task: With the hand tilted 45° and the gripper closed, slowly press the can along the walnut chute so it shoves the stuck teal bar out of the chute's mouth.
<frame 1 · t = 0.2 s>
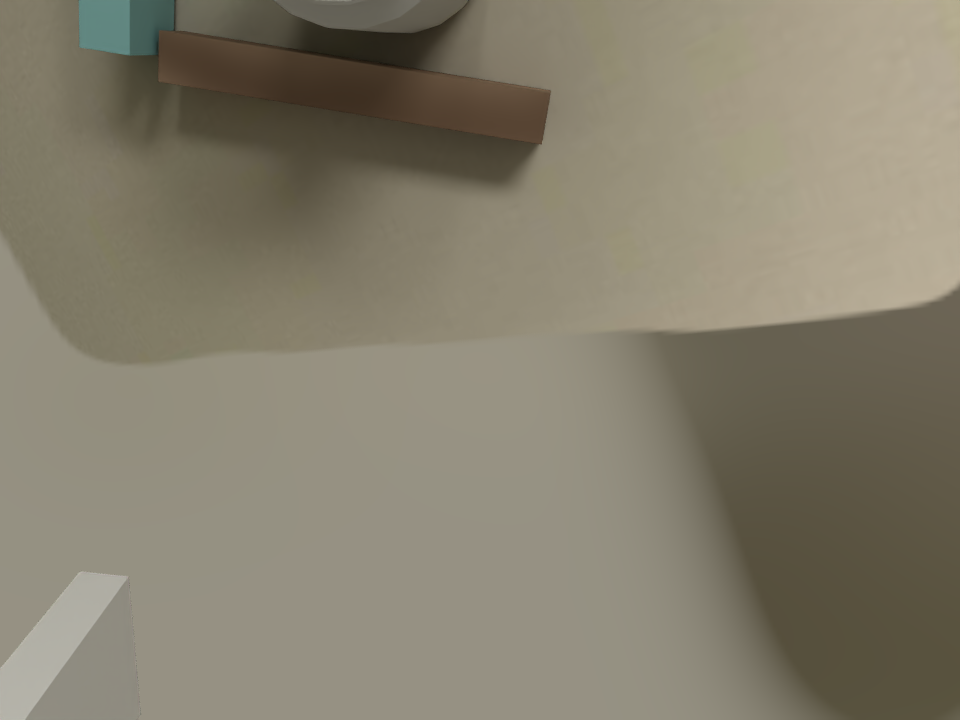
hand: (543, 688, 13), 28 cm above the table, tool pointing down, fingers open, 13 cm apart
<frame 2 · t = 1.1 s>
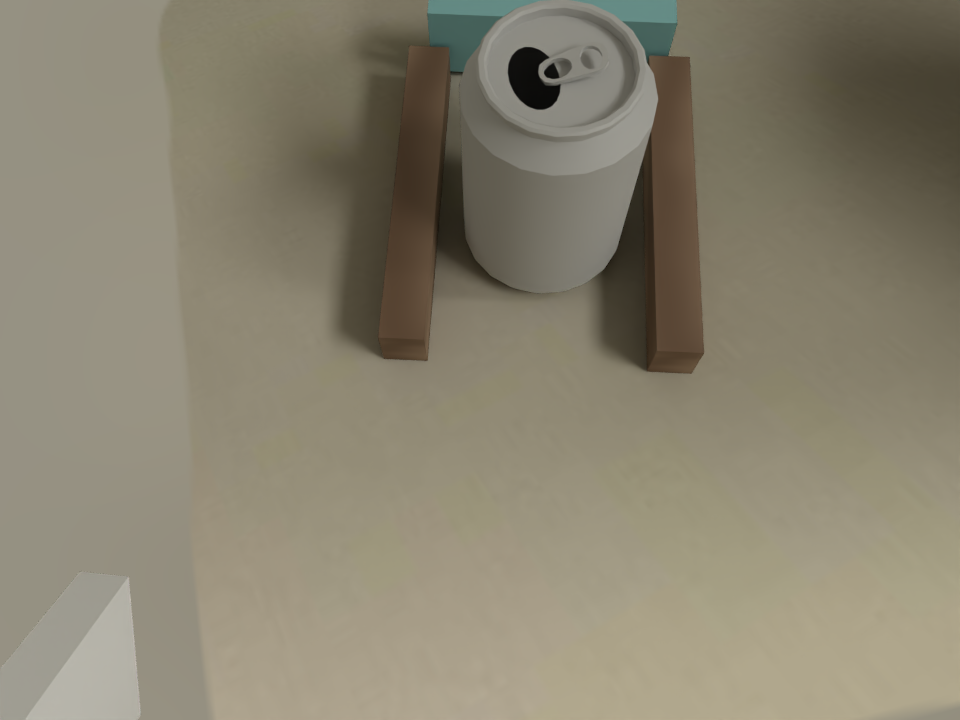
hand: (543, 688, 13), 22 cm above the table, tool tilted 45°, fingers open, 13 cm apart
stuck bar: (549, 32, 44), point 2 cm above the table, slide at 0.0 cm
chute: (541, 214, 42), on the table
can: (540, 234, 42), on the table
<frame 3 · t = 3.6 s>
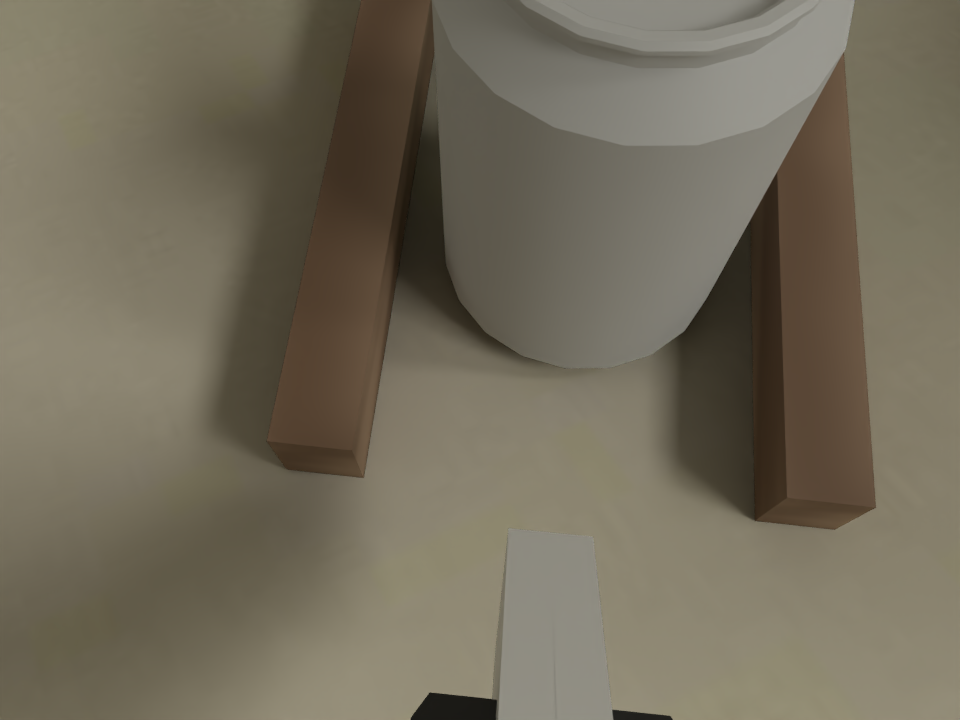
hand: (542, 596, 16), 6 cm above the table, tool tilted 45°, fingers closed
chute: (578, 230, 25), on the table
can: (574, 263, 25), on the table
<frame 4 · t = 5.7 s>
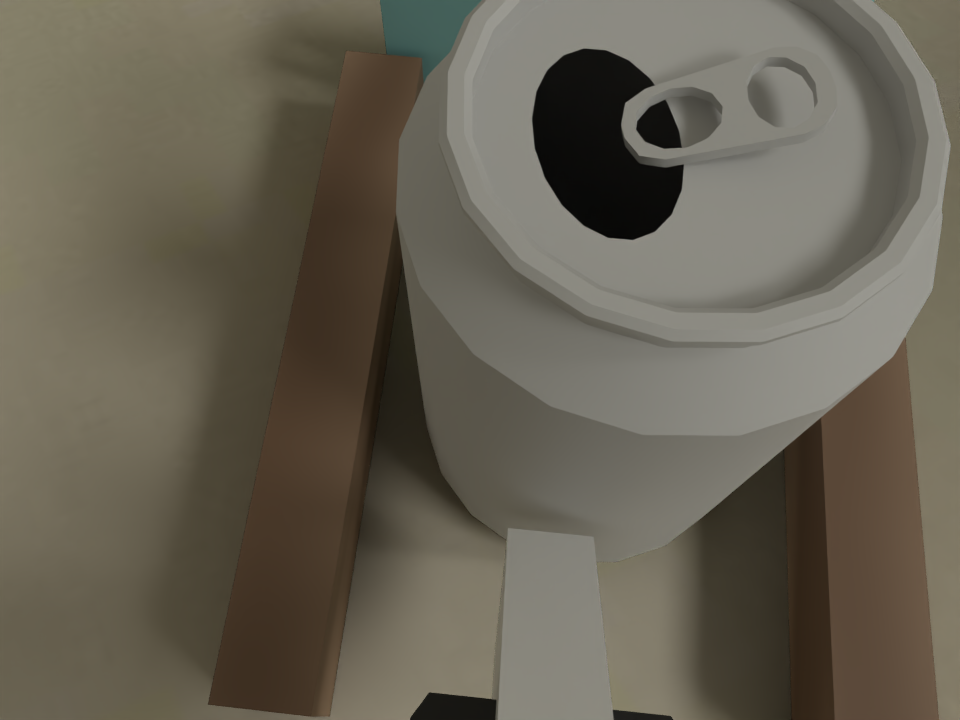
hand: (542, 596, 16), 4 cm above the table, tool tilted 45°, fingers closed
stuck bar: (614, 39, 23), point 2 cm above the table, slide at 0.0 cm
chute: (582, 395, 22), on the table
can: (577, 418, 22), on the table, touching gripper
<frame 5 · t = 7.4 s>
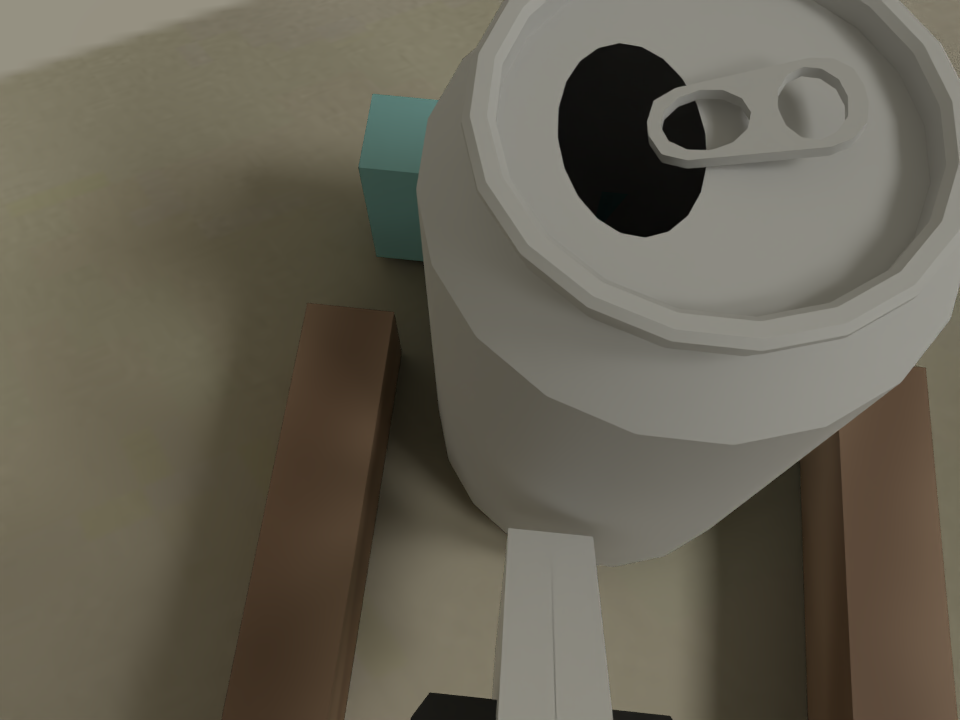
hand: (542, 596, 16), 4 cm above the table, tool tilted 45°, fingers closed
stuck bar: (619, 205, 21), point 2 cm above the table, slide at 2.2 cm, touching can
chute: (576, 714, 19), on the table
can: (591, 420, 21), on the table, touching gripper, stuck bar
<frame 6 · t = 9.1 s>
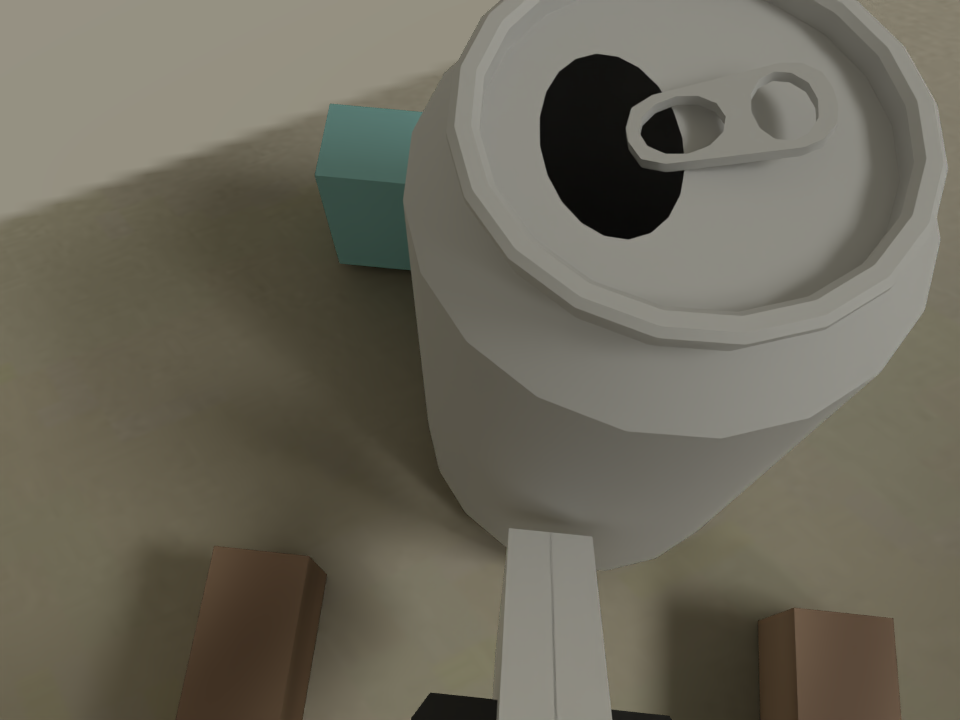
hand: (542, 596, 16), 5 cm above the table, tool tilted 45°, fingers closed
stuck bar: (575, 211, 21), point 2 cm above the table, slide at 7.7 cm
can: (578, 427, 22), on the table, touching gripper
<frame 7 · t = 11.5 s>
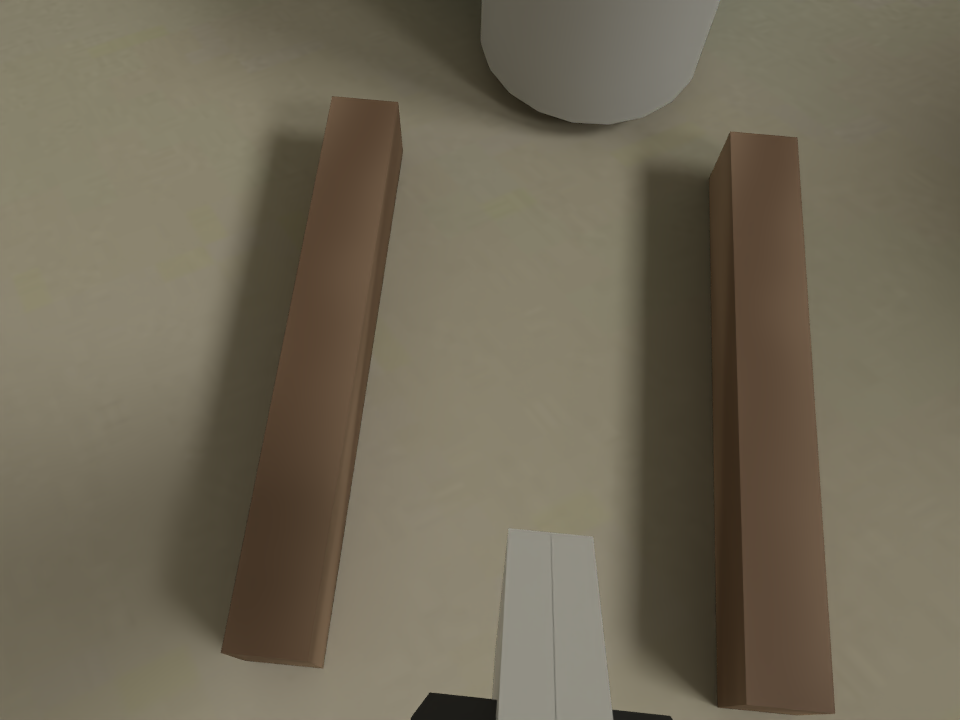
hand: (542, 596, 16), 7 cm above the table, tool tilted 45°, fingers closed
chute: (539, 393, 25), on the table
can: (586, 57, 30), on the table
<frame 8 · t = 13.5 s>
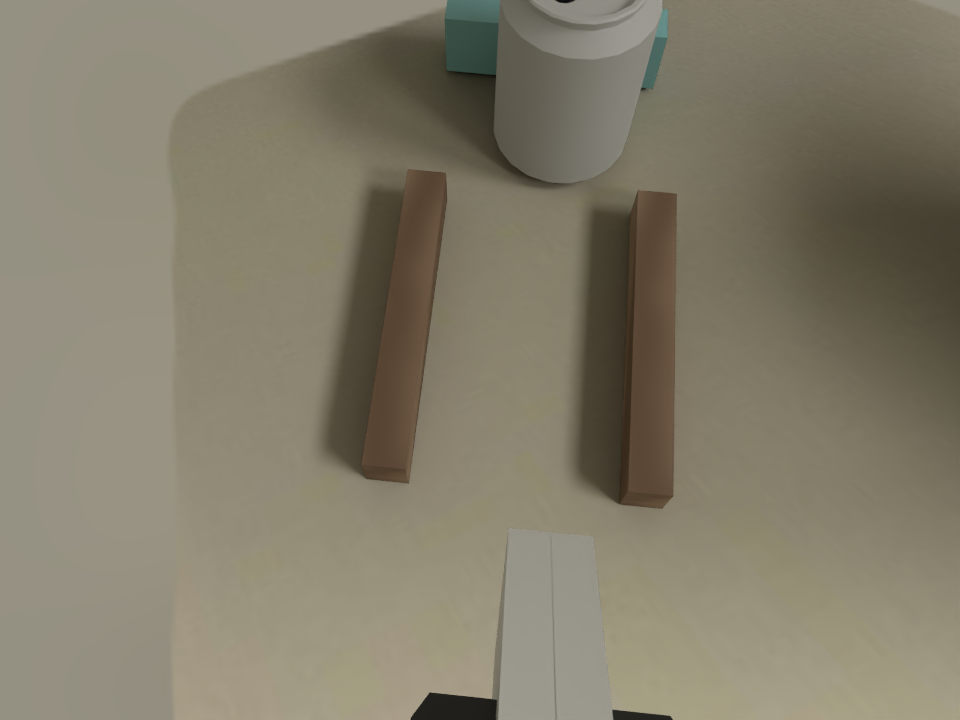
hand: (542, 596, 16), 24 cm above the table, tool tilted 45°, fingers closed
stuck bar: (553, 41, 49), point 2 cm above the table, slide at 8.3 cm
chute: (526, 340, 44), on the table
can: (558, 139, 49), on the table
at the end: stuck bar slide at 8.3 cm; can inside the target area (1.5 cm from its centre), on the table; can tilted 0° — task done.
